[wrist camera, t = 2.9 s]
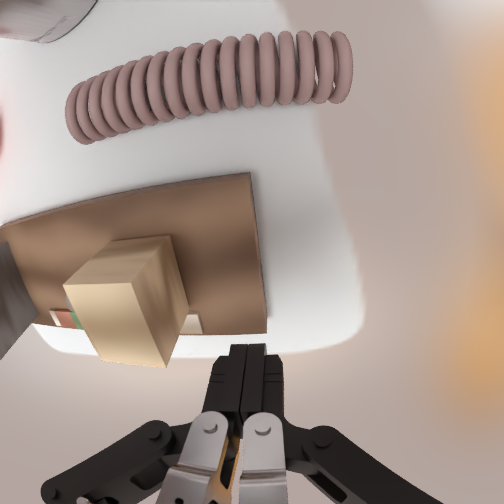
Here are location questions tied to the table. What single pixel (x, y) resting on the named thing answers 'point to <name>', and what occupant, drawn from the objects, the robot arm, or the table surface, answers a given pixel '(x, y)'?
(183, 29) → the table surface
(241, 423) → the robot arm
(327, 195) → the table surface
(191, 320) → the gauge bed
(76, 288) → the block
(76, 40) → the table surface
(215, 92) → the coil
